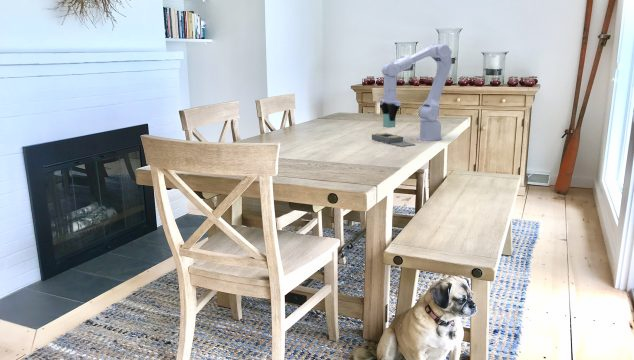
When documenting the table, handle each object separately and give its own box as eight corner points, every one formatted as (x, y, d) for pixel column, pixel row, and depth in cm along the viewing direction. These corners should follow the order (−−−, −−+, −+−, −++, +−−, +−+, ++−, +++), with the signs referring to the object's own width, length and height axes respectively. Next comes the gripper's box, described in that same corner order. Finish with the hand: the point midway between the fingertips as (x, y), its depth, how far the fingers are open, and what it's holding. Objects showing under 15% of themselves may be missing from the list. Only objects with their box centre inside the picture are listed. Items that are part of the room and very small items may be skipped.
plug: (390, 126, 246) (390, 111, 244) (395, 127, 242) (395, 112, 241) (383, 126, 244) (383, 112, 242) (388, 127, 240) (388, 113, 239)
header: (385, 138, 254) (385, 132, 253) (403, 142, 242) (403, 136, 241) (371, 139, 250) (371, 133, 250) (388, 143, 238) (389, 137, 237)
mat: (404, 142, 241) (404, 141, 241) (415, 145, 234) (415, 144, 234) (390, 144, 237) (390, 143, 237) (400, 146, 230) (400, 146, 230)
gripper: (373, 89, 244) (373, 119, 247) (392, 91, 231) (391, 122, 234) (386, 89, 247) (386, 118, 250) (405, 91, 234) (404, 121, 237)
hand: (389, 120), depth 242 cm, fingers closed on plug, 4 cm apart
